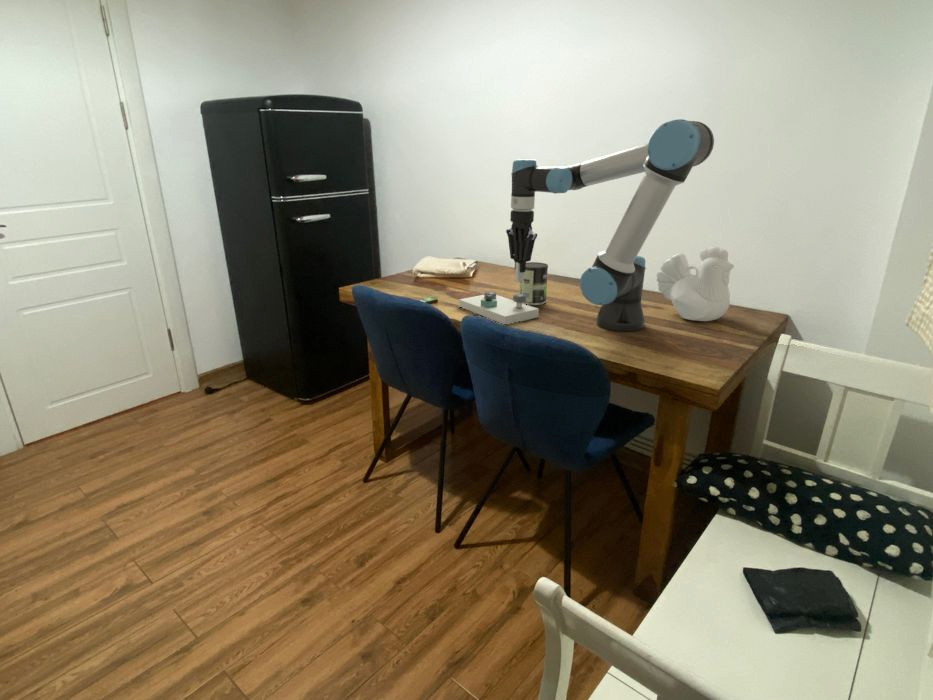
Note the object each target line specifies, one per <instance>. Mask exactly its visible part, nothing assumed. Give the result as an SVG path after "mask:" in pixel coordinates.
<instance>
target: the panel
mask: <svg viewBox="0 0 933 700" xmlns="http://www.w3.org/2000/svg"><path fill="white" fill-rule="evenodd" d="M483 299H485V298H484V294H480V295H475V296H469V297H465V298H459V299H458V308H459V307H462V308H465V309H467V310H470V311H473V312H474V313H473V314H475V313H478V314H480V315H482V316H485V317H487V318H486V319H488V318H490V319H492V320H491V321H493V320H495V321H498V322H501V323H504V324H508V323H509V324H508V325H511V324H510V323H512V324H515V323H514V322H516V323H519V321H520V322H524V321H528V320H532V319H536V318H539V311H540V310H539V308H538V307H535V306H533V305H526V304H523V303H522V309H517V308H516V302H514V301H513V299H511V298H507V297H504V296H501V295H498V294H496V299H494V300H497V306H495V307H491V308H486V307H483V306H481V300H483ZM462 308H461V309H462ZM467 310H466V311H467ZM470 311H469V312H470ZM480 315H479V316H480ZM482 316H481V317H482ZM485 317H484V318H485ZM490 319H489V320H490ZM495 321H494V322H495ZM498 322H497V323H498Z"/></svg>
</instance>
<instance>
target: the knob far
mask: <svg viewBox="0 0 933 700" xmlns="http://www.w3.org/2000/svg"><path fill="white" fill-rule="evenodd" d="M483 295H484V298H485V296H486V295H492V299H496V295H497V292H496V291H485V292H484V293H483Z"/></svg>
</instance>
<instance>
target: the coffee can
mask: <svg viewBox="0 0 933 700" xmlns="http://www.w3.org/2000/svg"><path fill="white" fill-rule="evenodd" d="M548 269H549V264H547V263H544V262H536V261H528V262H526V267H525V272H524V281H522V282H519V294H524V295H526V301H525V302H522V303H523V304H527V305H529V306H540V305H544V303H545V304H546V303H547V289H548V287H547V286H548V285H547V284H548Z"/></svg>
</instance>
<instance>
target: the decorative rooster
mask: <svg viewBox="0 0 933 700" xmlns="http://www.w3.org/2000/svg"><path fill="white" fill-rule="evenodd" d="M699 257H700V260H701V263H700V266H699V265H697V264H690V265H689V262H688V258H687V256H686V254H684V253H683V252H680V253H679V252H678V253H676V254H673V255H672V256H671V257H670V258H668V259H666V260H665V261H664V262H663V263H662V265H661V266H660V268H659V270H658V272H657V273H656V282H658V283H657V286H658V290H659V293H661V294H663V297H664V298H665V299H666V300H669V301H671V303H672V305H673V307H674V309H675V311H676V313H678V314H679V316H680V317H681V318H682V319H684V320H689V321H699V322H710V321H714V320H718V319H720V318H721V317H723V315H724V314H726V312H727V311H728V309H729V307H730V303H731V299H730V298H731V294H730V290H729V283H730V275H731V270H733V269H734V267H735V265H734V264H732V263H730V262H729V259H728V258H729V252H728V251H727V250H726V249H723V248H722V249H721V248H720V247H717V246H710V247H707V248H706V247H704V248H702V249H701V251H700V252H699ZM692 269H693V270H695V272H696V273H695V274H693V273H692V272H691V270H692Z"/></svg>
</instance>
